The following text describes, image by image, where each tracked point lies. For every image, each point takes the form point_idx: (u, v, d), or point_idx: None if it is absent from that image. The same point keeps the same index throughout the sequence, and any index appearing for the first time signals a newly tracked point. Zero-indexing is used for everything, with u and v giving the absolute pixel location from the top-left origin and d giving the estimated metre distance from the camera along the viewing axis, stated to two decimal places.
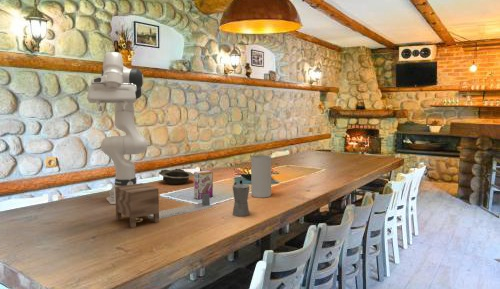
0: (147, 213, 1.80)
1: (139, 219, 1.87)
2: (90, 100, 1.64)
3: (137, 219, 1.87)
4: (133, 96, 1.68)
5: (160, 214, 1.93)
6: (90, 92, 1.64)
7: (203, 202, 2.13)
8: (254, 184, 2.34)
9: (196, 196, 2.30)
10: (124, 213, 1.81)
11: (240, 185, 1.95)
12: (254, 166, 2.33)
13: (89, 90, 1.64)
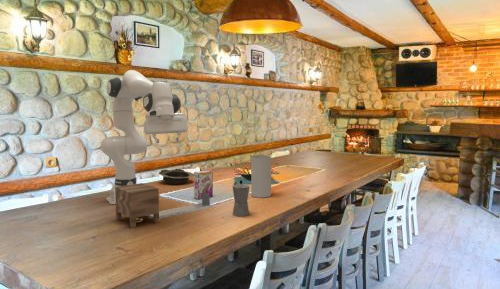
0: (147, 213, 1.80)
1: (139, 219, 1.87)
2: (147, 133, 1.73)
3: (137, 219, 1.87)
4: (186, 128, 1.80)
5: (160, 214, 1.93)
6: (147, 126, 1.73)
7: (203, 202, 2.13)
8: (254, 184, 2.34)
9: (196, 196, 2.30)
10: (124, 213, 1.81)
11: (240, 185, 1.95)
12: (254, 166, 2.33)
13: (146, 124, 1.72)
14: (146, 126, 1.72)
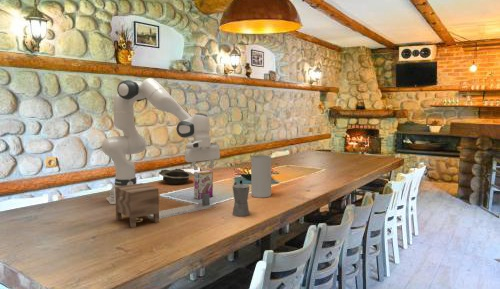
0: (147, 213, 1.80)
1: (139, 219, 1.87)
2: None
3: (137, 219, 1.87)
4: (219, 156, 2.08)
5: (160, 214, 1.93)
6: (190, 156, 1.97)
7: (203, 202, 2.13)
8: (254, 184, 2.34)
9: (196, 196, 2.30)
10: (124, 213, 1.81)
11: (240, 185, 1.95)
12: (254, 166, 2.33)
13: (189, 154, 1.97)
14: (189, 156, 1.97)
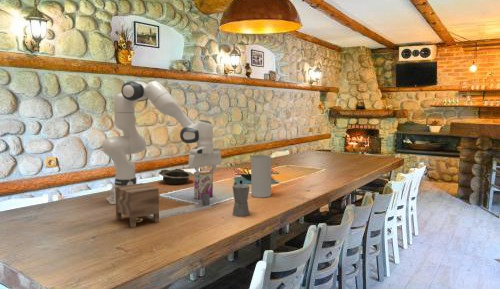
0: (147, 213, 1.80)
1: (139, 219, 1.87)
2: (192, 167, 2.05)
3: (137, 219, 1.87)
4: (220, 162, 2.16)
5: (160, 214, 1.93)
6: (194, 162, 2.04)
7: (203, 202, 2.13)
8: (254, 184, 2.34)
9: (196, 196, 2.30)
10: (124, 213, 1.81)
11: (240, 185, 1.95)
12: (254, 166, 2.33)
13: (193, 160, 2.04)
14: (193, 162, 2.04)
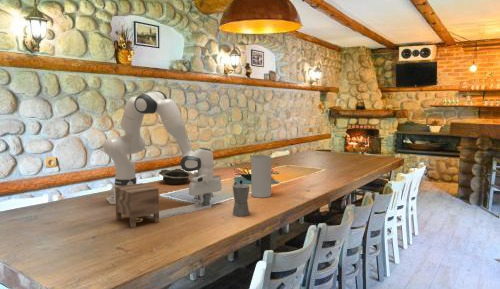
0: (147, 213, 1.80)
1: (139, 219, 1.87)
2: None
3: (137, 219, 1.87)
4: (220, 188, 2.18)
5: (160, 214, 1.93)
6: (194, 190, 2.06)
7: (203, 202, 2.13)
8: (254, 184, 2.34)
9: (196, 196, 2.30)
10: (124, 213, 1.81)
11: (240, 185, 1.95)
12: (254, 166, 2.33)
13: (194, 188, 2.05)
14: (193, 190, 2.05)
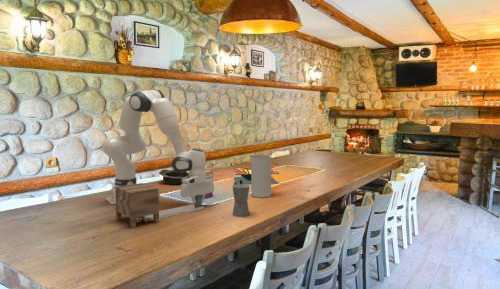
0: (147, 213, 1.80)
1: (138, 219, 1.86)
2: None
3: (136, 219, 1.86)
4: (213, 190, 2.15)
5: (151, 216, 1.90)
6: (186, 191, 2.02)
7: (195, 203, 2.10)
8: (254, 184, 2.34)
9: None
10: (124, 213, 1.81)
11: (240, 185, 1.95)
12: (254, 166, 2.33)
13: (185, 190, 2.02)
14: (185, 192, 2.02)
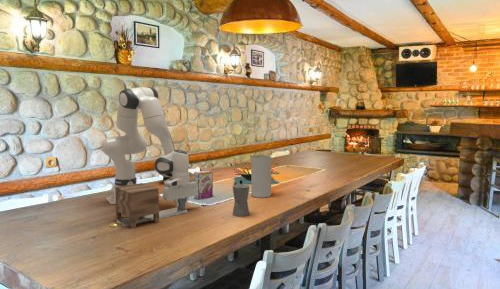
0: (147, 213, 1.80)
1: (117, 223, 1.79)
2: None
3: (114, 223, 1.79)
4: (197, 193, 2.07)
5: None
6: (168, 194, 1.95)
7: (178, 207, 2.02)
8: (254, 184, 2.34)
9: (196, 196, 2.30)
10: (124, 213, 1.81)
11: (240, 185, 1.95)
12: (254, 166, 2.33)
13: (168, 193, 1.95)
14: (167, 195, 1.95)
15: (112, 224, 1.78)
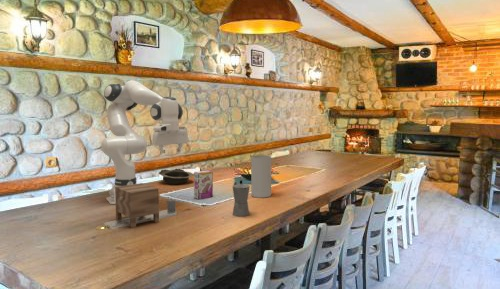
0: (147, 213, 1.80)
1: (103, 226, 1.75)
2: None
3: (101, 226, 1.75)
4: (187, 141, 2.10)
5: (118, 223, 1.78)
6: (158, 139, 1.98)
7: (168, 209, 1.98)
8: (254, 184, 2.34)
9: (196, 196, 2.30)
10: (124, 213, 1.81)
11: (240, 185, 1.95)
12: (254, 166, 2.33)
13: (157, 137, 1.97)
14: (157, 139, 1.97)
15: (99, 227, 1.74)
